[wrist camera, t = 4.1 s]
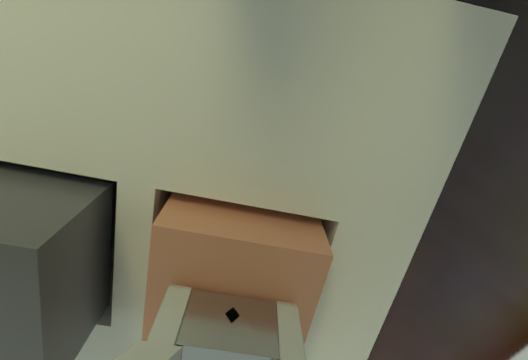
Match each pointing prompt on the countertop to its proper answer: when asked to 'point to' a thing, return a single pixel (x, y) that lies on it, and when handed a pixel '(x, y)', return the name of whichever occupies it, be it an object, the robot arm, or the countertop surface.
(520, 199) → the countertop surface
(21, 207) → the charcoal key
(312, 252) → the terracotta key
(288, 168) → the cream key base
